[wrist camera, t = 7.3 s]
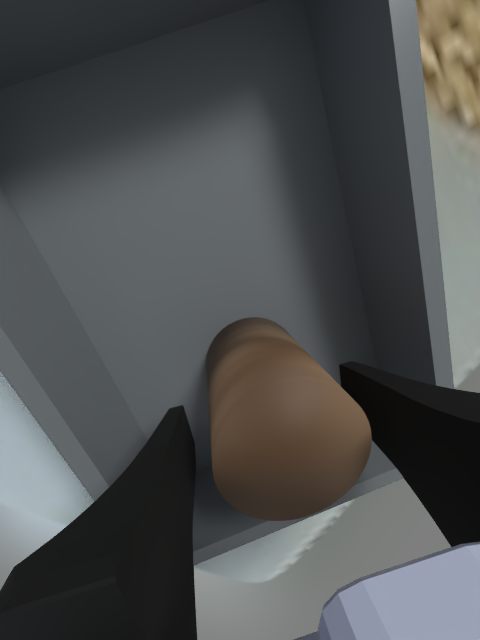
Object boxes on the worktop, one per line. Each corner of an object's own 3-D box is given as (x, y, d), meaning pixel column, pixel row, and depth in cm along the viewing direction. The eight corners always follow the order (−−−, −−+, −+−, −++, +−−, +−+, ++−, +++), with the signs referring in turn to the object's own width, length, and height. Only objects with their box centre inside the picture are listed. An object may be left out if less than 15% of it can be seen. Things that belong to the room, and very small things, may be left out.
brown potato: (223, 412, 15) (240, 541, 9) (192, 335, 14) (187, 420, 7) (304, 383, 16) (381, 487, 9) (283, 304, 14) (358, 359, 8)
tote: (165, 487, 17) (152, 582, 12) (-66, 94, 10) (-287, -30, 6) (390, 397, 18) (460, 454, 13) (309, -29, 11) (392, -233, 6)
